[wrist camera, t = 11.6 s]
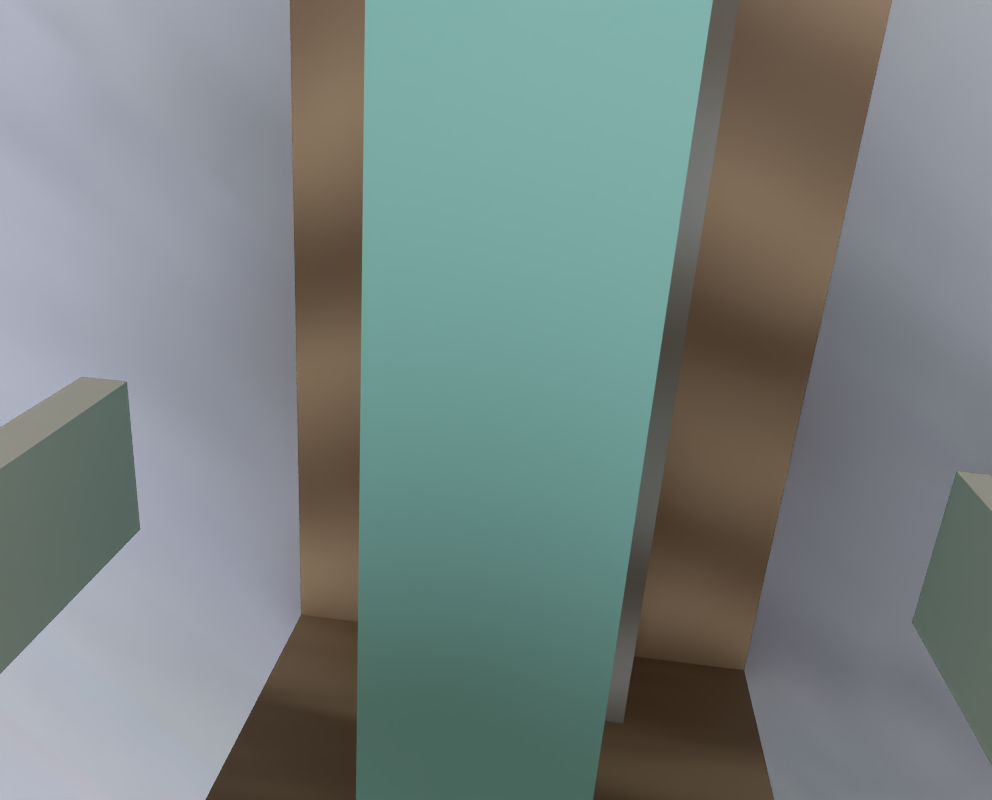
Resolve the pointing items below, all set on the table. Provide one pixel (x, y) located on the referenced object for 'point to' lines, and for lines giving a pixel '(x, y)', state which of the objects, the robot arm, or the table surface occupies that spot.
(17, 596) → the robot arm
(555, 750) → the door panel
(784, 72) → the wooden rack
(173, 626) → the table surface
